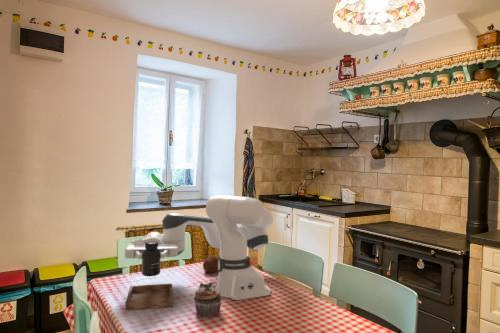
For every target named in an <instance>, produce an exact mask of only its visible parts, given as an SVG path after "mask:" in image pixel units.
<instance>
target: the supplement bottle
mask: <svg viewBox="0 0 500 333" xmlns="http://www.w3.org/2000/svg"><path fill="white" fill-rule="evenodd" d="M145 248H146V249H144V250H143V251H142V259H141V275H142V276H144V277H155V276H158V275H159V274H160V273H161V268H162V267H161V264H162V262H161V261H162V260H161V259H162V258H161V251H160V249H158V242H157V241H147V242H145Z"/></svg>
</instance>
